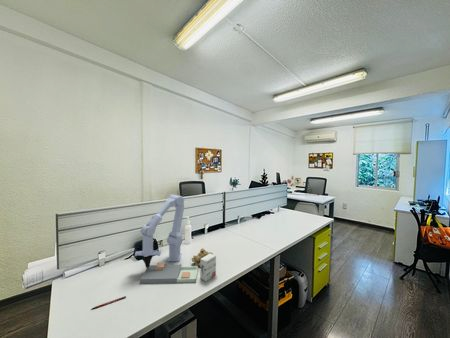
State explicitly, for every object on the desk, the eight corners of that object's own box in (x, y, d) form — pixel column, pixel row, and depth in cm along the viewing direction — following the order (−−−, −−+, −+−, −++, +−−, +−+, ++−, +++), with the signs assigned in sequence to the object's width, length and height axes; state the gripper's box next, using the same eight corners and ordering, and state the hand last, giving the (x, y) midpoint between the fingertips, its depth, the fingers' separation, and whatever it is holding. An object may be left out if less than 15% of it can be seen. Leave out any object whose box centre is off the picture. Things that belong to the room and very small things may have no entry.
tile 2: (182, 275, 103) (182, 272, 103) (190, 275, 104) (190, 271, 103) (180, 280, 99) (181, 277, 99) (189, 280, 99) (189, 276, 99)
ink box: (210, 271, 108) (210, 252, 108) (216, 274, 105) (216, 255, 105) (199, 278, 102) (199, 258, 101) (205, 282, 99) (205, 261, 98)
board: (148, 269, 109) (148, 265, 109) (181, 268, 111) (181, 264, 110) (139, 283, 97) (139, 279, 96) (176, 282, 98) (176, 278, 98)
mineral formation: (202, 255, 126) (220, 260, 119) (190, 268, 115) (208, 274, 107) (201, 245, 125) (218, 249, 117) (188, 256, 114) (206, 262, 106)
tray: (181, 269, 110) (181, 266, 110) (198, 269, 110) (198, 266, 110) (176, 282, 98) (176, 279, 98) (195, 282, 98) (195, 278, 98)
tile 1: (157, 265, 109) (157, 262, 109) (165, 265, 109) (165, 262, 109) (155, 270, 104) (155, 267, 104) (163, 270, 105) (163, 266, 105)
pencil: (90, 310, 79) (90, 307, 79) (125, 297, 87) (125, 295, 87) (90, 311, 79) (90, 309, 79) (125, 298, 86) (125, 296, 86)
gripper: (132, 248, 101) (132, 271, 102) (158, 248, 102) (157, 270, 103) (137, 242, 109) (137, 264, 109) (161, 242, 109) (161, 263, 110)
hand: (147, 267), depth 106 cm, fingers closed
